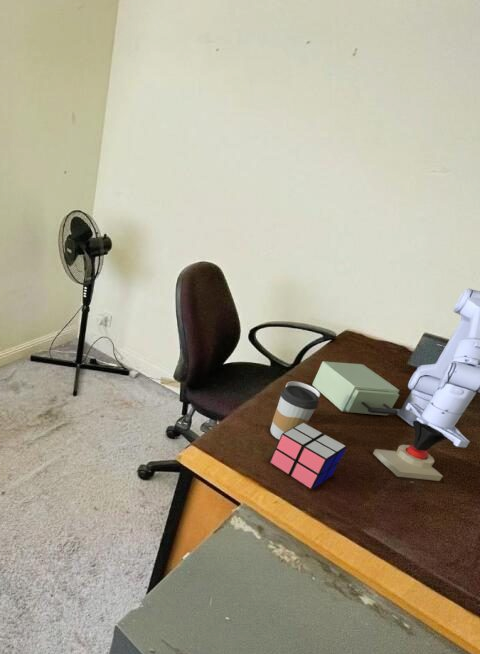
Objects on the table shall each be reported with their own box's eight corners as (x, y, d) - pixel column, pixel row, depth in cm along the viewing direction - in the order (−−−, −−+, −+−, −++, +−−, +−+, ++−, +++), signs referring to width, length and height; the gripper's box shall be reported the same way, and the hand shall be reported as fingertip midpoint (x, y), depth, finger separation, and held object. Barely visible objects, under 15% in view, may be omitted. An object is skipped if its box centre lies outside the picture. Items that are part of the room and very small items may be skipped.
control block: (412, 455, 111) (419, 446, 110) (443, 481, 104) (450, 471, 102) (370, 451, 113) (375, 441, 111) (397, 476, 105) (403, 466, 103)
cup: (313, 426, 121) (326, 399, 117) (283, 422, 123) (295, 395, 119) (299, 409, 129) (310, 383, 125) (270, 405, 130) (281, 379, 126)
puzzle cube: (311, 490, 100) (327, 459, 96) (268, 462, 108) (281, 433, 104) (332, 476, 104) (348, 446, 100) (289, 450, 112) (302, 421, 108)
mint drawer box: (385, 415, 127) (399, 390, 123) (342, 411, 128) (354, 386, 124) (351, 388, 140) (362, 364, 136) (312, 384, 142) (322, 361, 138)
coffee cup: (294, 429, 120) (313, 387, 114) (305, 449, 113) (326, 405, 106) (261, 423, 122) (278, 381, 116) (270, 441, 115) (289, 398, 109)
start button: (417, 450, 109) (420, 445, 108) (429, 460, 106) (432, 455, 105) (402, 449, 109) (405, 444, 109) (414, 459, 106) (417, 454, 105)
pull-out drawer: (399, 424, 122) (412, 403, 119) (358, 421, 123) (369, 400, 120) (355, 389, 138) (365, 370, 135) (319, 386, 139) (328, 367, 136)
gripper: (403, 388, 108) (380, 428, 114) (456, 424, 95) (428, 468, 100) (432, 390, 107) (408, 430, 113) (490, 427, 94) (459, 471, 100)
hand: (419, 448), depth 107 cm, fingers closed
